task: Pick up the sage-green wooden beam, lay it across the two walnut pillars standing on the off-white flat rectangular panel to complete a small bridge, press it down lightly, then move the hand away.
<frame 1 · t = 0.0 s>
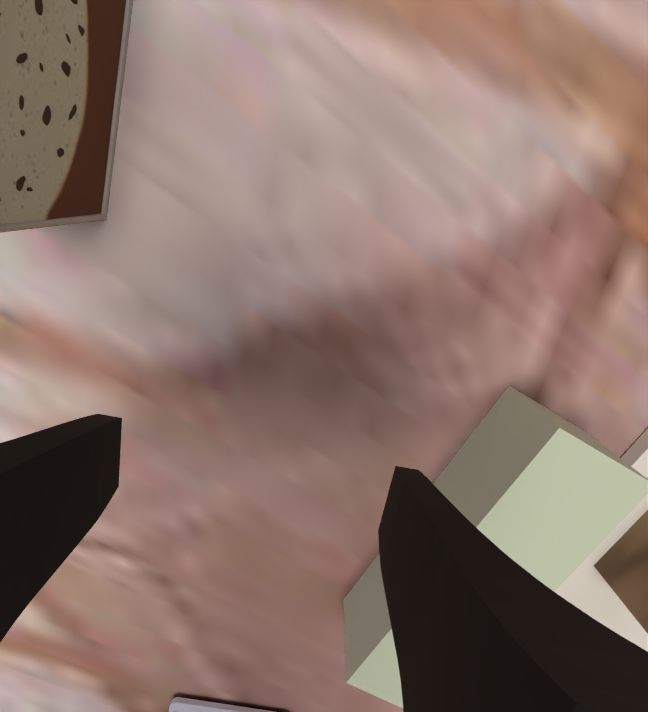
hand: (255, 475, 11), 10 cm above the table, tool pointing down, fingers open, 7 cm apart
off-white flat rectangular panel: (595, 596, 24), on the table
sage lintel: (454, 518, 23), on the table
walnut pillars: (628, 642, 21), on the off-white flat rectangular panel, point 3 cm above the table
food container: (50, 87, 17), on the table
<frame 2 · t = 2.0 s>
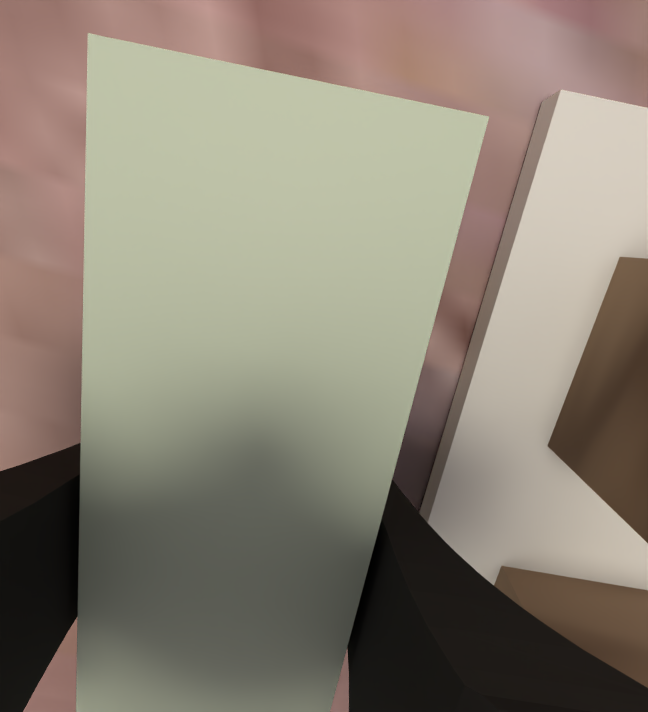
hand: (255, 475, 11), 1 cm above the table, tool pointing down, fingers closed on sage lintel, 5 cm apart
off-white flat rectangular panel: (591, 505, 12), on the table
sage lintel: (264, 446, 12), on the table, touching gripper
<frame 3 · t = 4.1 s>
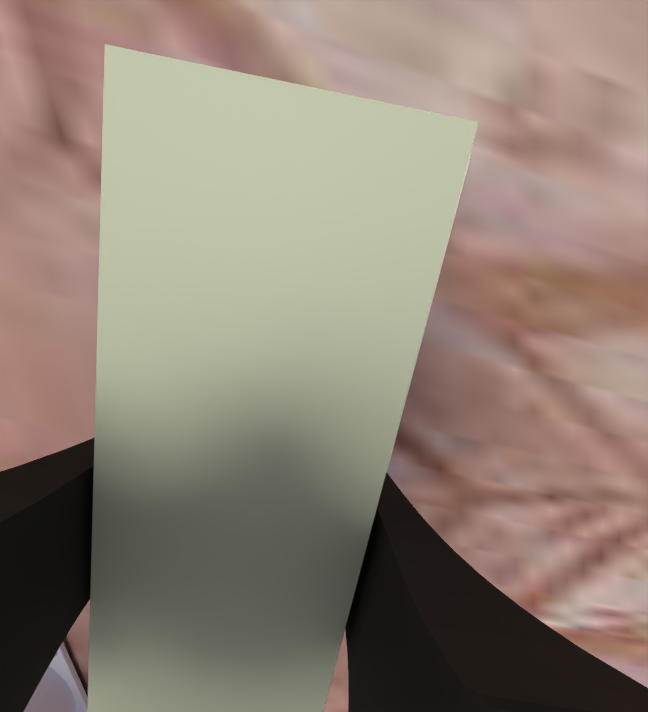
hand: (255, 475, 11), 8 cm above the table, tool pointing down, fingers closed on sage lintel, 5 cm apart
off-white flat rectangular panel: (296, 374, 19), on the table
sage lintel: (266, 438, 12), point 6 cm above the table, touching gripper
when the fingers open (7 cm above the table, at t = 5.0 s): sage lintel stays where it is, resting on walnut pillars.
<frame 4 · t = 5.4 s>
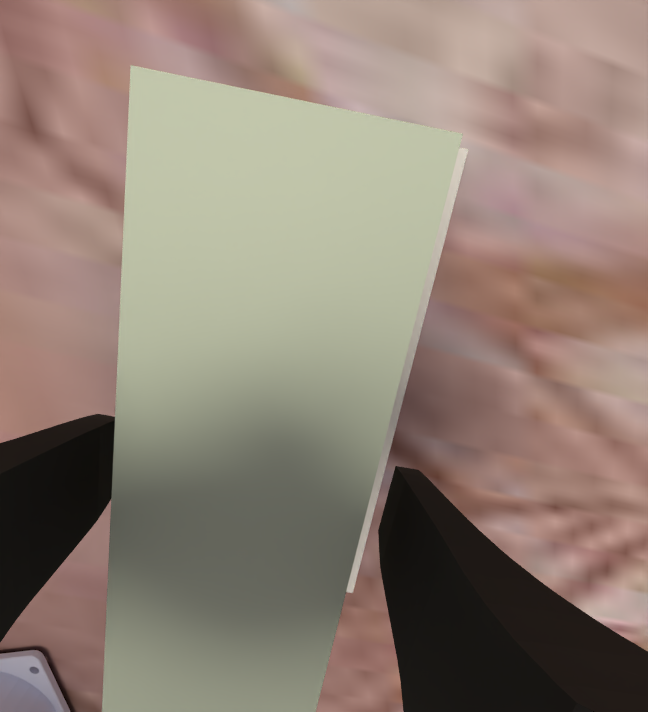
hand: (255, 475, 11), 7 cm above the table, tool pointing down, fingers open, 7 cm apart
off-white flat rectangular panel: (285, 379, 18), on the table
sage lintel: (269, 428, 13), point 5 cm above the table, touching walnut pillars
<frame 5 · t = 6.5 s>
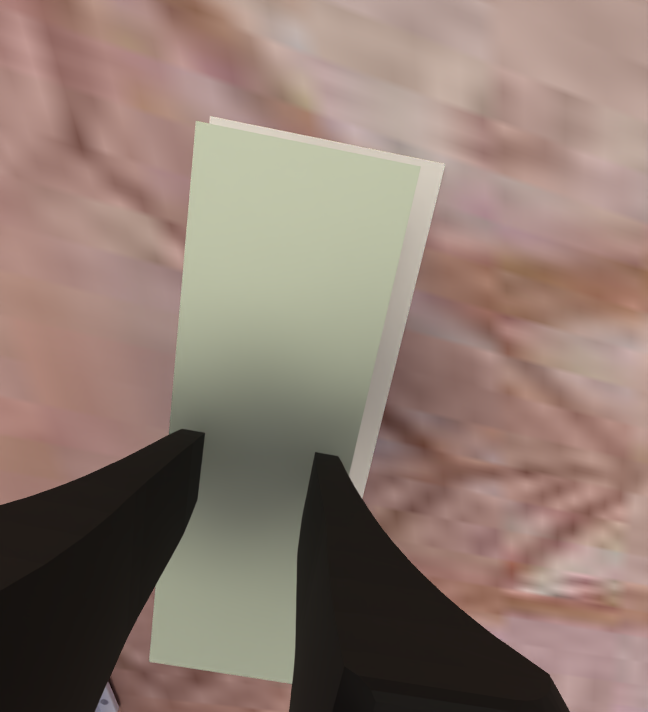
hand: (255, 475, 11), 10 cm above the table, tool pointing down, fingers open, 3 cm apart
off-white flat rectangular panel: (292, 359, 21), on the table
sage lintel: (280, 394, 16), point 5 cm above the table, touching walnut pillars
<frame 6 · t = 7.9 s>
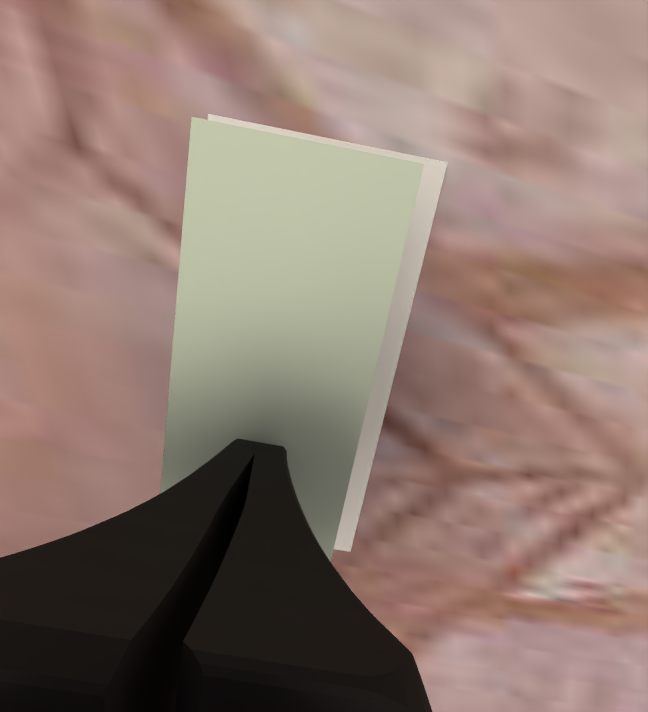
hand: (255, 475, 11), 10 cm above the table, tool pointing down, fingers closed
off-white flat rectangular panel: (291, 361, 20), on the table
sage lintel: (279, 396, 16), point 5 cm above the table, touching walnut pillars
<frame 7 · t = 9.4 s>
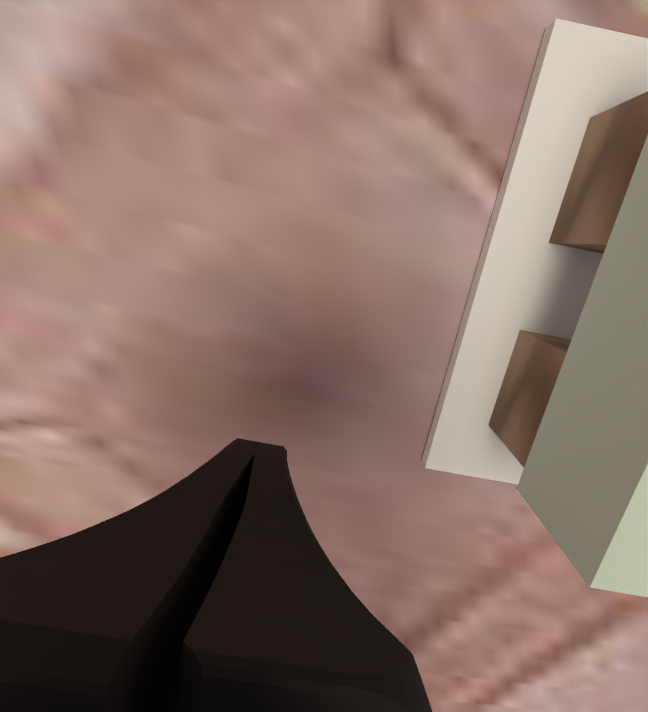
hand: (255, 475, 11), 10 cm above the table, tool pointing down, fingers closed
off-white flat rectangular panel: (576, 295, 19), on the table
walnut pillars: (615, 304, 17), on the off-white flat rectangular panel, point 3 cm above the table
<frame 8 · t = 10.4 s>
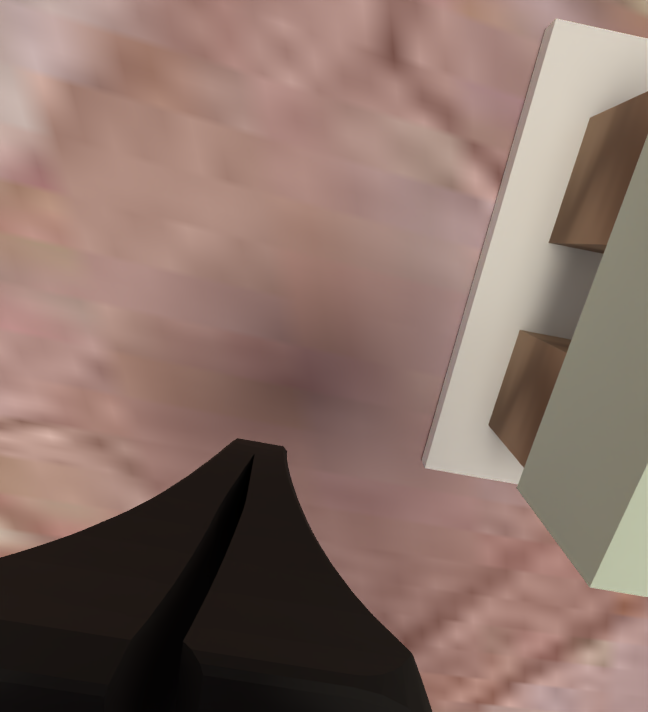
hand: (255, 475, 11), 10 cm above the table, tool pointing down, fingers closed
off-white flat rectangular panel: (576, 295, 19), on the table
walnut pillars: (615, 304, 17), on the off-white flat rectangular panel, point 3 cm above the table
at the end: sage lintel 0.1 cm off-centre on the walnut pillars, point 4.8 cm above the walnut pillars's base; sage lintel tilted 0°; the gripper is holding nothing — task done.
